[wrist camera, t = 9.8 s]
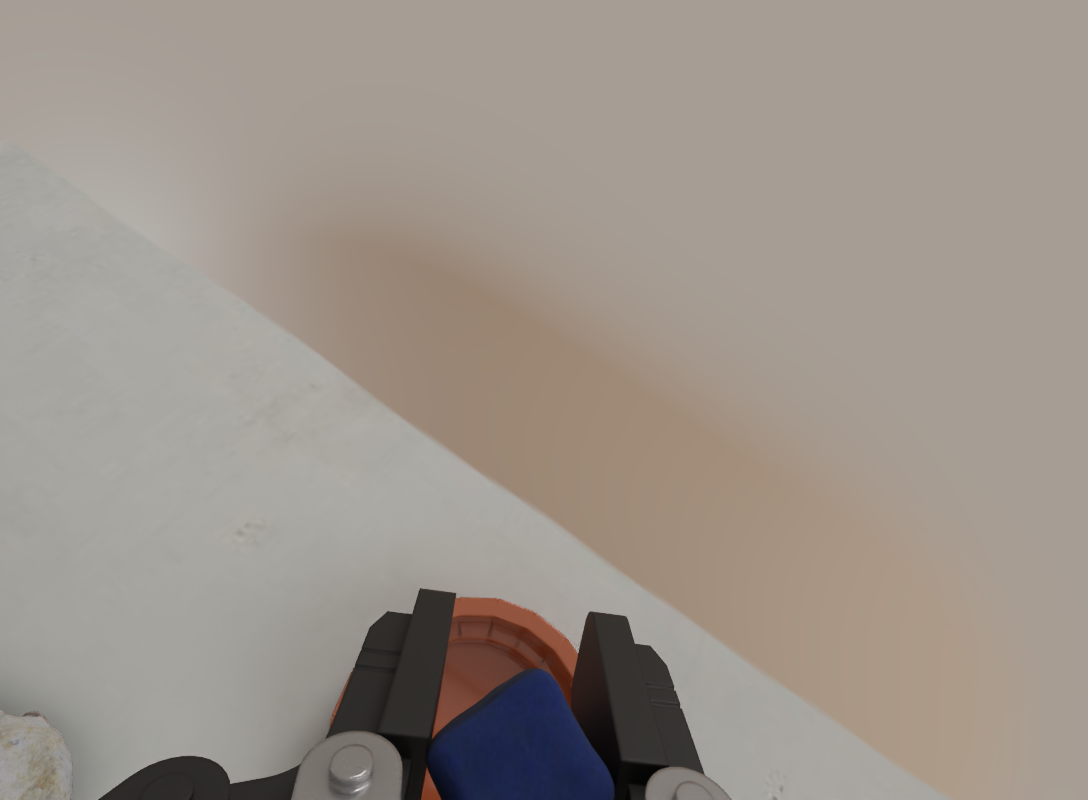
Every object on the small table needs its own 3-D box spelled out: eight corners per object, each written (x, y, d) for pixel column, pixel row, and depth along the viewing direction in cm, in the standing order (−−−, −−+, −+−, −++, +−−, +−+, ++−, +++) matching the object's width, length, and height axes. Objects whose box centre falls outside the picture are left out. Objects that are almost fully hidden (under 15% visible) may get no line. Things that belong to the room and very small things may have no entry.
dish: (628, 710, 21) (655, 707, 18) (485, 967, 17) (494, 1008, 15) (452, 568, 23) (454, 546, 20) (283, 774, 19) (258, 781, 16)
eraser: (506, 684, 14) (548, 649, 8) (553, 777, 13) (636, 811, 8) (424, 736, 13) (408, 738, 8) (468, 839, 13) (489, 928, 7)
